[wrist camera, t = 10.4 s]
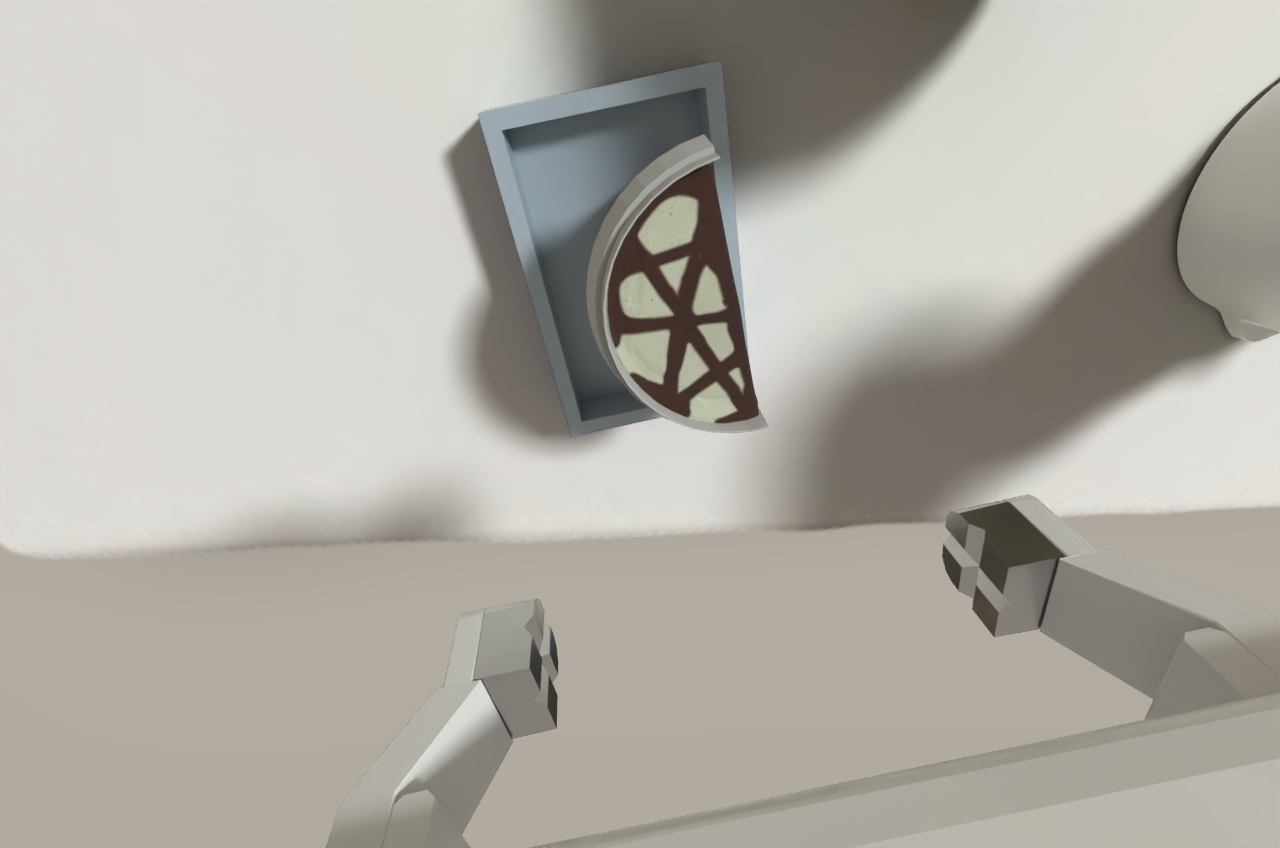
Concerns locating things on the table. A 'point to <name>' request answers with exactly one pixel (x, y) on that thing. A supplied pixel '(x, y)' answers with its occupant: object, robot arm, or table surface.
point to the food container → (673, 297)
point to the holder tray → (596, 207)
